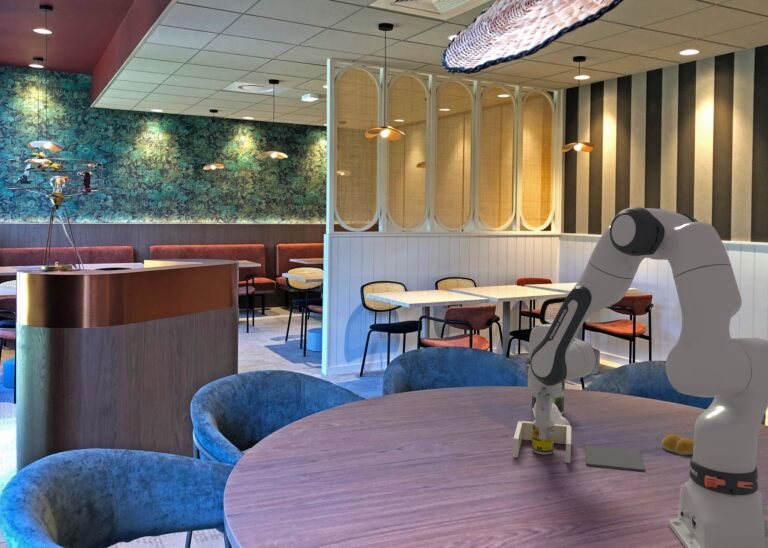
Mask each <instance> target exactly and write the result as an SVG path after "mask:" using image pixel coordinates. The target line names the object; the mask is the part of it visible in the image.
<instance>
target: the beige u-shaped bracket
mask: <svg viewBox="0 0 768 548" xmlns="http://www.w3.org/2000/svg"><path fill="white" fill-rule="evenodd" d="M532 434H533V421H525V420H524V421H523V420H518V421H517V424H516V428H515V432H514V436H513V446H512V447H513V451H512V457H513V458H519V453H520V450H521V447H522V446H521V445H522V441H529V440H531V441H530V442H532ZM522 439H523V440H522ZM554 444H560V445H561V444H562V445H565V464H566V463H567V464H571V459H572V458H571V456H572V455H571V454H572V453H571V452H572V425H559V424H554Z"/></svg>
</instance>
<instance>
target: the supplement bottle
mask: <svg viewBox="0 0 768 548" xmlns="http://www.w3.org/2000/svg"><path fill="white" fill-rule="evenodd" d="M532 422H533V434H532V441H531V442H532V443H531V449H532V451H533V452H534V453H536V454H539V455H550V454H553V452H554V444H555V443H554V422H553V421H551V419H550V426H549V428H547V431H546V439H545V440H542V439H539V428H538V427H536V426H535V419H534V420H533V421H532Z"/></svg>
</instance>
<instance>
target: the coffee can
mask: <svg viewBox="0 0 768 548" xmlns="http://www.w3.org/2000/svg"><path fill="white" fill-rule="evenodd" d="M565 383H566V381H564V382H562V391H561V392H560V393H557V397H556V398H554V399H553V403H554V404H555V405H556V406H557V408H558V410H559V411H560V413H561V414H562V415H563V414H564V413H565V410H564V409H565V386H566V385H565ZM535 403H536V397H534V396H532V395H531V412H533V410H532V409H533V408H534V405H535Z"/></svg>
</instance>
